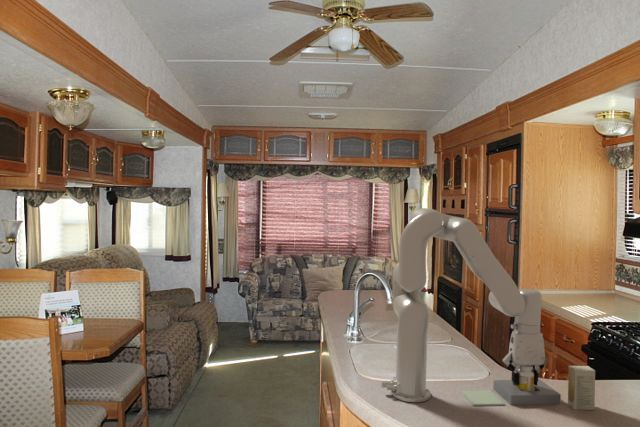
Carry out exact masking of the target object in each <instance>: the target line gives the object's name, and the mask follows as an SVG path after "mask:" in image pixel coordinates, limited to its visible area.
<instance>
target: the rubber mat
mask: <svg viewBox="0 0 640 427" xmlns="http://www.w3.org/2000/svg"><path fill="white" fill-rule="evenodd" d="M460 393H461V395H463V396H464V398H465V399H466V400H467V401H468V402H469V403H470V404H471V405H472V406H473V407H478V406H479V407H481V406H482V407H483V406H484V407H485V406H505V404H506V403H505V402H503V400H501V399H500V398H499V397H498V396H497V395H496V394H495V393H494V392H493V391H492V390H490V389H486V390H484V389H483V390H481V389H480V390H460Z"/></svg>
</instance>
